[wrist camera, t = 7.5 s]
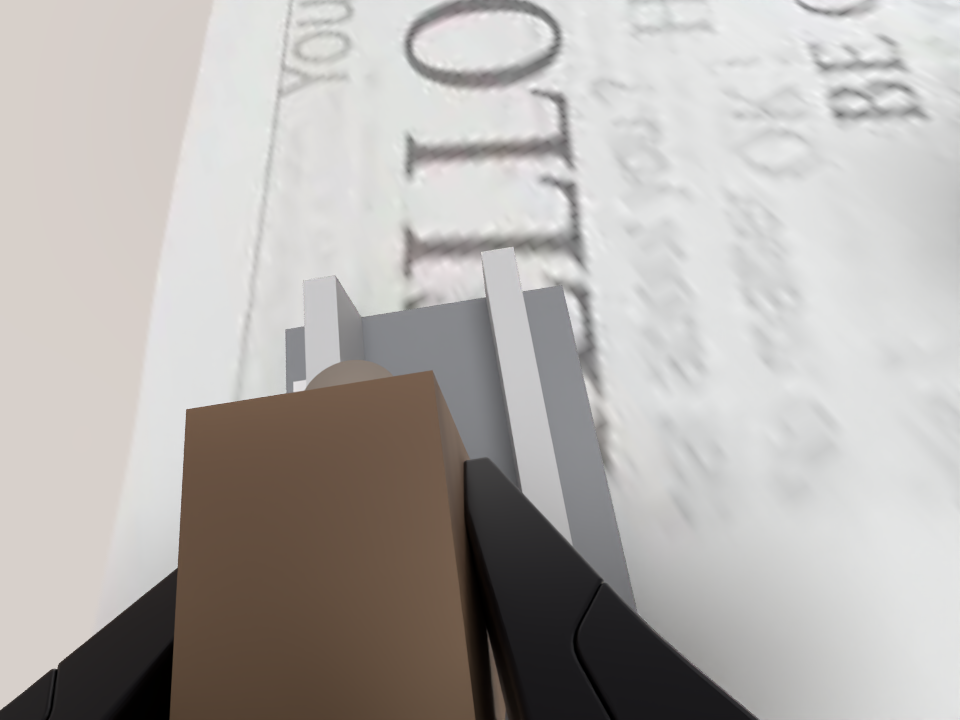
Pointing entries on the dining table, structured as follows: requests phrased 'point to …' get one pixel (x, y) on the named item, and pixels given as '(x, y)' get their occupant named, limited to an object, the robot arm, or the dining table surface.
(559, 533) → the robot arm
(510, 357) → the grey long channel piece
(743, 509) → the dining table surface
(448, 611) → the brown wooden block
